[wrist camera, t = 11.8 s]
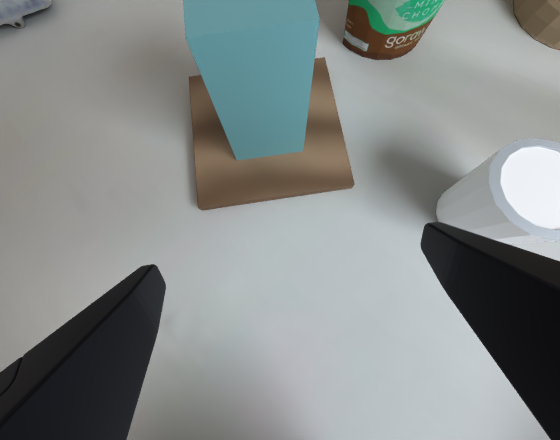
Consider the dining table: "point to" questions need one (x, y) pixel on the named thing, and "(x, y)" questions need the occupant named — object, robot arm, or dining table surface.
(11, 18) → the grey storage box
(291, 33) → the teal square pillar
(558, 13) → the oil lamp
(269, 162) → the stub base
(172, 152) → the dining table surface
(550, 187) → the white short cylinder
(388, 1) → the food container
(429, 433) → the dining table surface
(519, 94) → the dining table surface
